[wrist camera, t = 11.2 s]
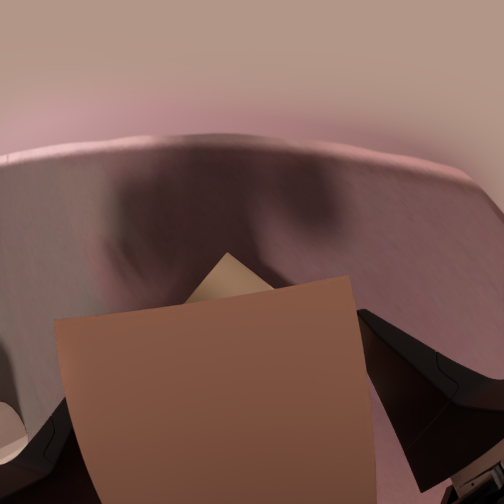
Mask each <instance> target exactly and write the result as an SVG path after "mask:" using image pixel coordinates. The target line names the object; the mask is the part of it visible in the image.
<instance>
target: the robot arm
mask: <svg viewBox="0 0 504 504" xmlns="http://www.w3.org/2000/svg"><path fill="white" fill-rule="evenodd" d="M356 312H357V317H358V322H359V328H360V333H361V339H362V345H363V351H364V357H365V364H366V371H367V373H368V375H369V377H370V379H371V381H372V383H373V385H374V387H375V390H376V392H377V394H378V396H379V398H380V400H381V402H382V404H383V406H384V409H385V411H386V413H387V415H388V417H389V419H390V422H391V424H392V426H393V428H394V430H395V433H396V435H397V437H398V439H399V442H400V444H401V446H402V449H403V451H404V454H405V456H406V458H407V461H408V463H409V465H410V468H411V470H412V473H413V475H414V477H415V480H416V482H417V485H418V487H419V490H420V492H421V493H423V492H425V491H427V490H429V489H430V488H432V487H434V486H436V485H438V484H439V483H441V482H443V481H445V480H446V479H448V478H450V479H451V481H452V483H453V484H452V485H450V486H449V487H447V488H446V491H445V494H444V496H443V499H442V501H441V504H504V379H503V380H497V379H492V378H488V377H486V376H484V375H482V374H480V373H477V372H475V371H473V370H471V369H469V368H467V367H465V366H463V365H461V364H459V363H457V362H455V361H453V360H451V359H449V358H447V357H446V356H444V355H442V354H441V353H439V352H437V351H435V350H434V349H432V348H430V347H429V346H427V345H425V344H424V343H422V342H420V341H419V340H417V339H415V338H414V337H412V336H410V335H409V334H407V333H405V332H404V331H402V330H400V329H399V328H397V327H395V326H393V325H392V324H390V323H388V322H387V321H385V320H383V319H382V318H380V317H378V316H377V315H375V314H373V313H371V312H370V311H368V310H366V309H360V310H356ZM0 504H102V502H101V500H100V498H99V496H98V494H97V491H96V489H95V487H94V484H93V482H92V480H91V477H90V475H89V472H88V470H87V467H86V464H85V462H84V459H83V456H82V453H81V450H80V447H79V444H78V441H77V438H76V434H75V431H74V428H73V424H72V420H71V417H70V413H69V409H68V405H67V401H66V396H65V398H64V399H63V400H62V401H61V403H60V404H59V405H58V407H57V408H56V409H55V411H54V412H53V413H52V416H50V417H49V419H48V420H47V421H46V423H45V424H44V425H43V426H42V428H41V429H40V430H39V432H38V433H37V434H36V435H35V436H34V437H33V439H32V440H31V441H30V442H29V443H28V444H27V445H26V446H25V448H24V449H23V450H22V451H21V452H20V453H19V454H18V456H17V457H16V458H14V459H13V460H12V461H10V462H8V463H5V464H0Z"/></svg>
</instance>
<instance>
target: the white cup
mask: <svg viewBox="0 0 504 504" xmlns="http://www.w3.org/2000/svg"><path fill="white" fill-rule="evenodd" d="M27 444H28V439H27V433H26V430H25V427H24V425H23V423H22V421H21V419H20V417H19V415H18V414H17V413H16V412H15V411H14V409H13V408H12V407H11V406H9V405H8V404H6V403H4V402H0V464H4V463H6V462H7V461H9V460H11V459H12V458H14V457H15V456H17V455H18V454H19V453H20V452H21V451H22V450H23V449H24V448H25V446H26V445H27Z"/></svg>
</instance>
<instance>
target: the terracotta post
mask: <svg viewBox="0 0 504 504" xmlns="http://www.w3.org/2000/svg"><path fill="white" fill-rule="evenodd" d="M54 328H55V337H56V345H57V352H58V359H59V365H60V371H61V377H62V382H63V387H64V392H65V396H66V401H67V405H68V409H69V413H70V417H71V420H72V424H73V428H74V431H75V434H76V438H77V441H78V444H79V447H80V450H81V453H82V456H83V459H84V462H85V464H86V467H87V470H88V472H89V475H90V477H91V480H92V482H93V484H94V487H95V489H96V491H97V494H98V496H99V498H100V500H101V502H102V504H377V491H376V461H375V445H374V432H373V421H372V411H371V402H370V393H369V385H368V378H367V371H366V364H365V357H364V351H363V345H362V339H361V333H360V328H359V322H358V317H357V312H356V307H355V302H354V297H353V292H352V288H351V283H350V278H349V275H344V276H340V277H335V278H330V279H325V280H320V281H315V282H310V283H305V284H299V285H294V286H289V287H284V288H278V289H273V290H267V291H261V292H256V293H250V294H244V295H238V296H232V297H226V298H220V299H214V300H208V301H201V302H195V303H188V304H181V305H174V306H167V307H160V308H153V309H145V310H138V311H130V312H122V313H114V314H105V315H96V316H87V317H77V318H67V319H57V320H54Z"/></svg>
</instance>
